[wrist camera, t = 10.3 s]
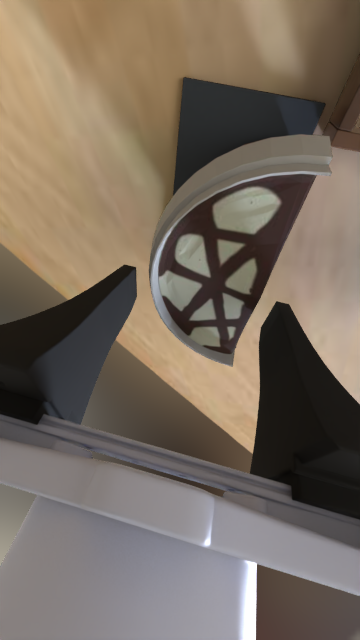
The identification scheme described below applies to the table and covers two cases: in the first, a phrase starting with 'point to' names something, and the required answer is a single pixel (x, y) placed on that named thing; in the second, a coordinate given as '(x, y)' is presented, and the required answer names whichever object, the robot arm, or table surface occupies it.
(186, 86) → the rubber mat
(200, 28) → the table surface
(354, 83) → the walnut tray
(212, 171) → the food container
